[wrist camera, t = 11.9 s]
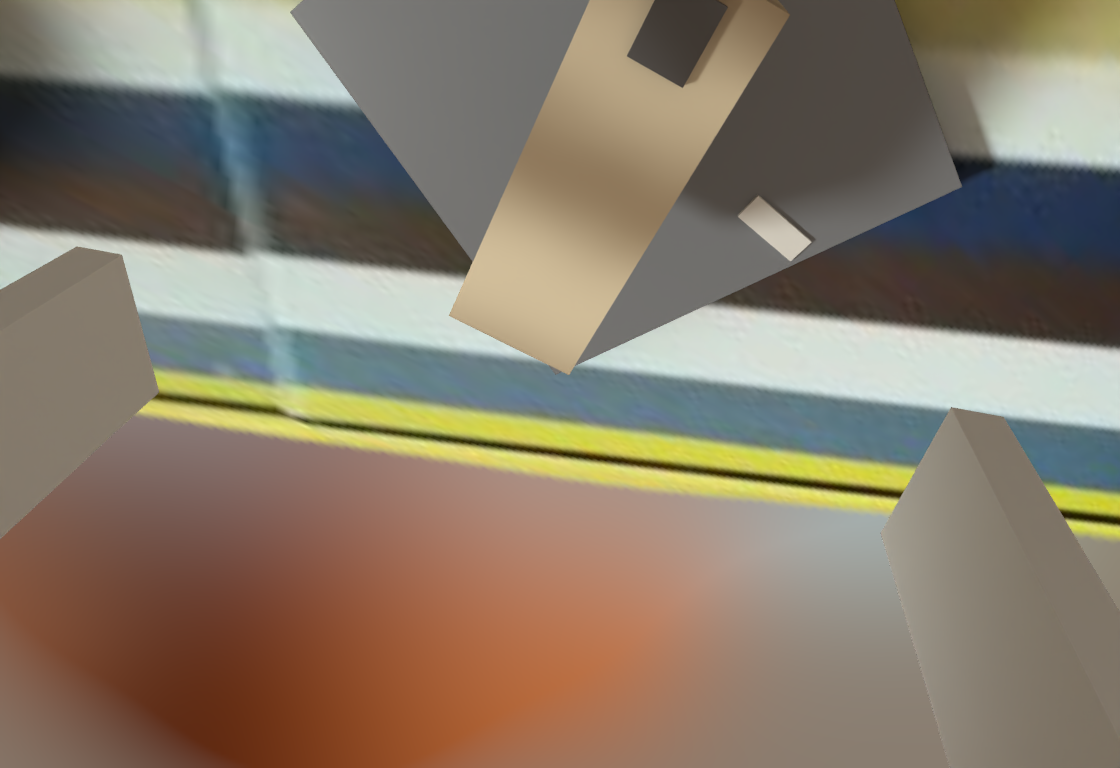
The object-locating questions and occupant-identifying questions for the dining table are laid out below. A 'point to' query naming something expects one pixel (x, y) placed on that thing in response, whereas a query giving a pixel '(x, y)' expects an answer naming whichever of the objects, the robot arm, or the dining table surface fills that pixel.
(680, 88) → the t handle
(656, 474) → the dining table surface
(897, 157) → the lock base
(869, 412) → the dining table surface
